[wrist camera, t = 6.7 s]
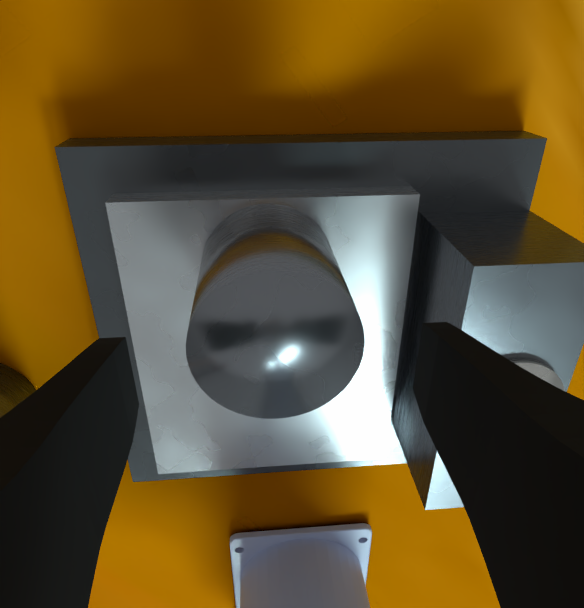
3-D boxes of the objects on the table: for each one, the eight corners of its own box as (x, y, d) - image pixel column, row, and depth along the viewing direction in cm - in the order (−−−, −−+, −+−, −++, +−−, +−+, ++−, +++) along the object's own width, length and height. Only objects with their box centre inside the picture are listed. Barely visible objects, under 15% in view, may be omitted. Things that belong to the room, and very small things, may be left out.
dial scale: (456, 436, 25) (517, 552, 19) (139, 457, 23) (106, 587, 18) (524, 131, 17) (656, 174, 12) (69, 138, 16) (-22, 191, 11)
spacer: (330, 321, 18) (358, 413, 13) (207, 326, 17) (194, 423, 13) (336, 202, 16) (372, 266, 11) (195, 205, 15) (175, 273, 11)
